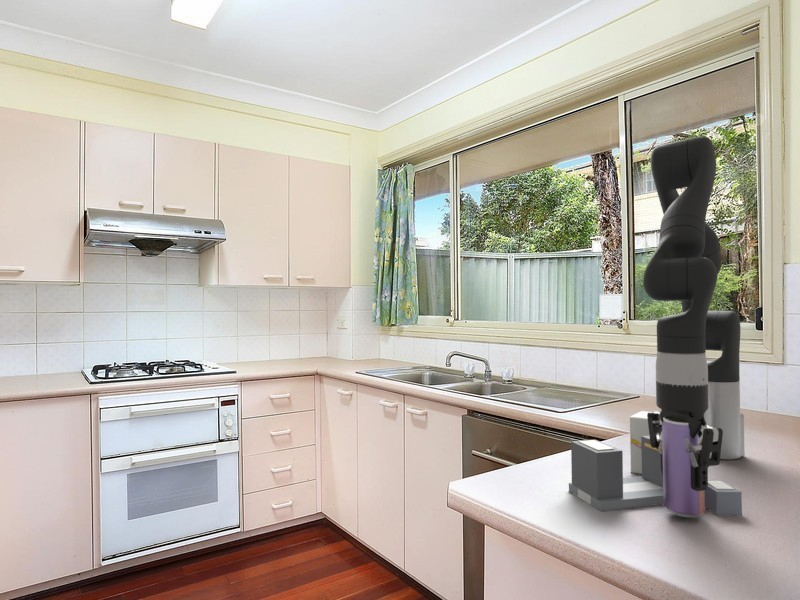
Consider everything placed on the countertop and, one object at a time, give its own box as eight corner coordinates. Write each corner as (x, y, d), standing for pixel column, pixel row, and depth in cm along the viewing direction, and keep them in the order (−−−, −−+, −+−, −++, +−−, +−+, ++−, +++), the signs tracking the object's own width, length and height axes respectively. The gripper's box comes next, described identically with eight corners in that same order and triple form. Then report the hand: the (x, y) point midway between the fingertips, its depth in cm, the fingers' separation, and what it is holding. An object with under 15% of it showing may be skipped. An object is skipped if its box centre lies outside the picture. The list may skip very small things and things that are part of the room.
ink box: (641, 463, 116) (640, 409, 116) (683, 470, 111) (682, 414, 111) (629, 472, 109) (628, 416, 110) (674, 480, 104) (673, 421, 104)
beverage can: (683, 520, 82) (681, 424, 82) (655, 506, 88) (653, 416, 88) (714, 516, 84) (712, 421, 84) (684, 502, 90) (683, 414, 90)
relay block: (698, 502, 93) (697, 478, 93) (721, 502, 93) (721, 478, 93) (716, 516, 87) (716, 490, 87) (742, 516, 87) (741, 490, 87)
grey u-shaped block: (660, 482, 103) (659, 432, 104) (700, 500, 94) (699, 445, 94) (568, 491, 99) (568, 438, 99) (601, 510, 89) (600, 453, 89)
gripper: (738, 385, 80) (740, 496, 80) (669, 373, 94) (670, 468, 94) (696, 387, 78) (698, 501, 78) (632, 375, 92) (634, 471, 92)
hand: (683, 482), depth 86 cm, fingers closed on beverage can, 6 cm apart
